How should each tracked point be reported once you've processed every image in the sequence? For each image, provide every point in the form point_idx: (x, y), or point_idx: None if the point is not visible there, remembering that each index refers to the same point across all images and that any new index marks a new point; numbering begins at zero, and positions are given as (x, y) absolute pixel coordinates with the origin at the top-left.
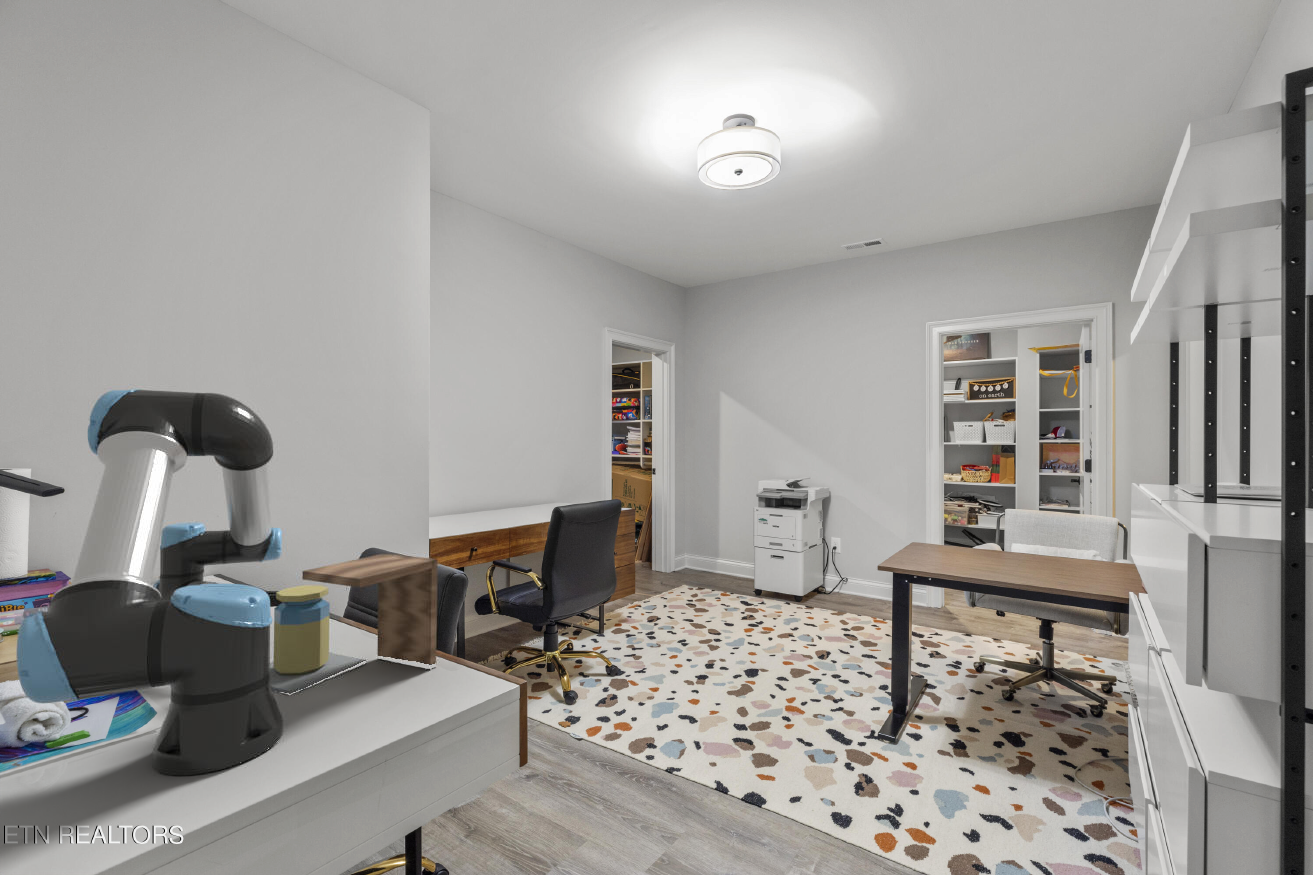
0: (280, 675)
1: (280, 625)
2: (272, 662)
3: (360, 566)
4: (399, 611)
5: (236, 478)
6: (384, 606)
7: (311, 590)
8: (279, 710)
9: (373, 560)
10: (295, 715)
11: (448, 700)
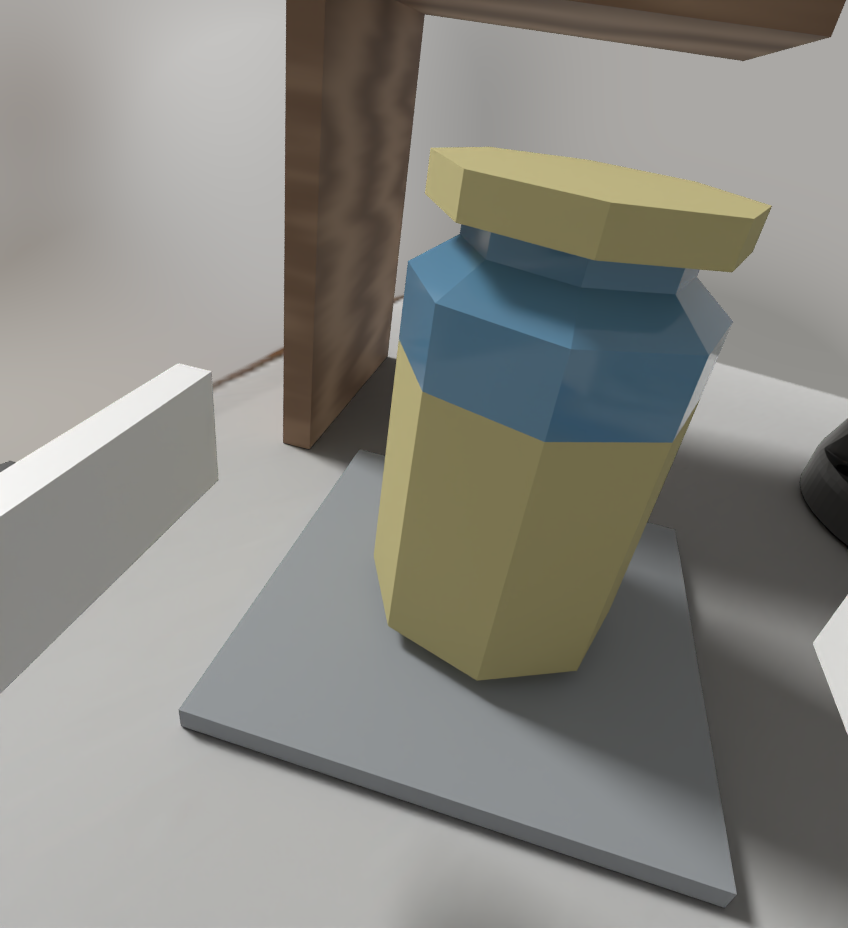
0: None
1: (698, 401)
2: (454, 789)
3: None
4: (360, 223)
5: None
6: (332, 225)
7: (575, 166)
8: (839, 425)
9: None
10: (737, 482)
11: None
